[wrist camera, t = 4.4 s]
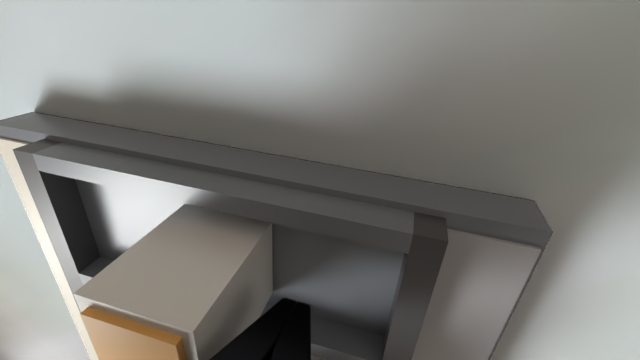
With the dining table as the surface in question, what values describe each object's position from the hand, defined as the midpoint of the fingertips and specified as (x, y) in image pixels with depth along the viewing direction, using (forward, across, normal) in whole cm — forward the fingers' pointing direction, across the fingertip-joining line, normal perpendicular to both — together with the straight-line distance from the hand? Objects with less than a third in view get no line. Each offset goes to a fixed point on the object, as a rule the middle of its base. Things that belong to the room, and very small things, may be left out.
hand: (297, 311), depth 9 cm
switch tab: (+2, +3, 0) cm, 3 cm away
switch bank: (+3, +3, +5) cm, 7 cm away
